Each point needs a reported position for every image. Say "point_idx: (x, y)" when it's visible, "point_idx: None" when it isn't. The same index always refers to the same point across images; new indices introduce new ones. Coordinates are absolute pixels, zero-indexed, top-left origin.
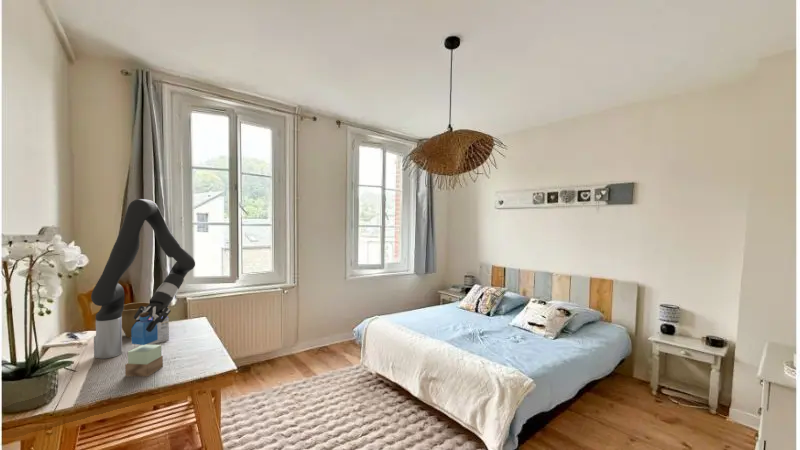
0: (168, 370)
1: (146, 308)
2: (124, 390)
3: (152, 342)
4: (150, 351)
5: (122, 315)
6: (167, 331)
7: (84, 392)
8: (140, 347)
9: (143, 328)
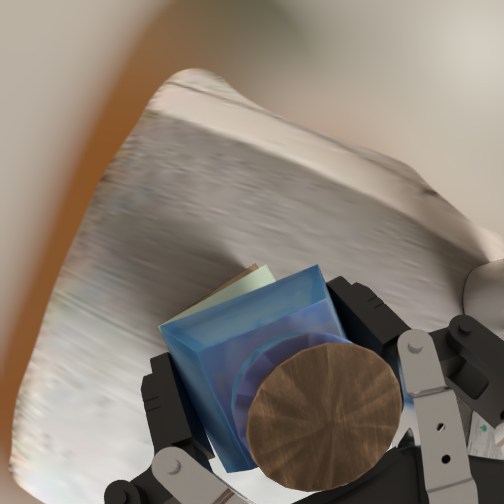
0: None
1: (494, 473)
2: (117, 222)
3: (475, 425)
4: None
5: None
6: None
7: (220, 145)
8: None
9: (170, 329)
